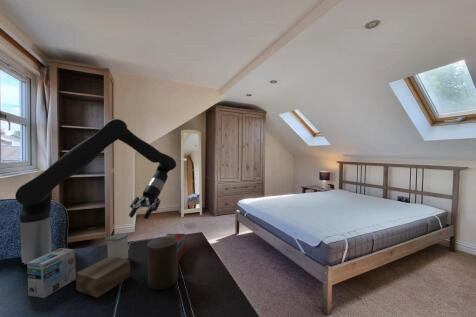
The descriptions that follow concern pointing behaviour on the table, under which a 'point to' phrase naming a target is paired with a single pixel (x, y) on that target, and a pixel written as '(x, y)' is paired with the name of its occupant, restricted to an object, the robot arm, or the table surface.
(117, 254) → the pale grey tall block
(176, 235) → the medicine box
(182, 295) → the table surface
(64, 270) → the light bulb box
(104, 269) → the walnut block
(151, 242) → the pillar candle
